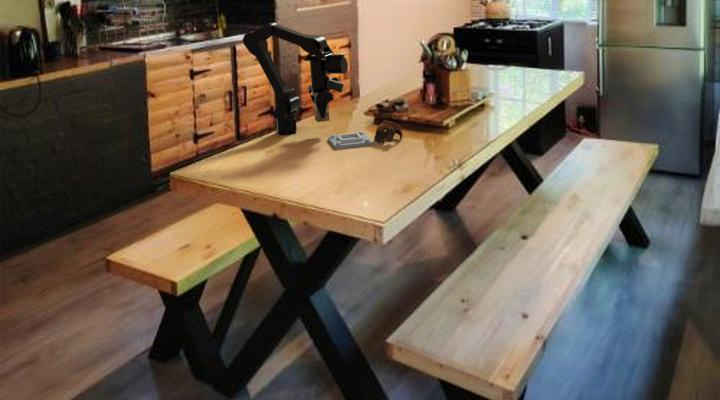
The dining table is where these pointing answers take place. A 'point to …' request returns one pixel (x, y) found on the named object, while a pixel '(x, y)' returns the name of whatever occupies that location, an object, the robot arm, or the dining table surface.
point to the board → (349, 140)
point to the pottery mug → (387, 132)
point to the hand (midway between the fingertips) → (321, 116)
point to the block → (318, 116)
